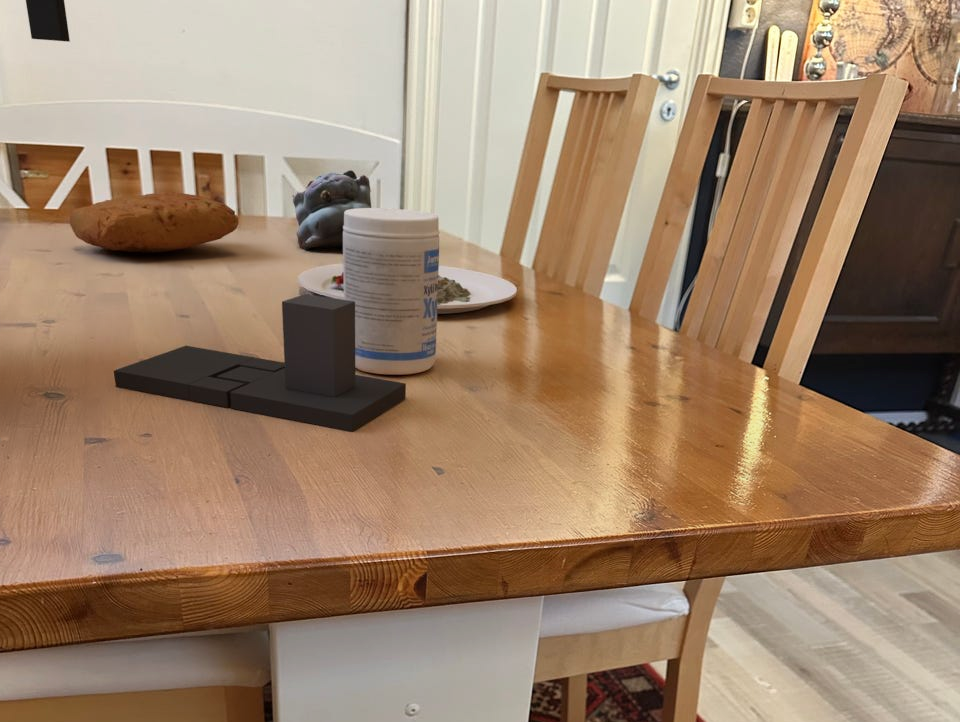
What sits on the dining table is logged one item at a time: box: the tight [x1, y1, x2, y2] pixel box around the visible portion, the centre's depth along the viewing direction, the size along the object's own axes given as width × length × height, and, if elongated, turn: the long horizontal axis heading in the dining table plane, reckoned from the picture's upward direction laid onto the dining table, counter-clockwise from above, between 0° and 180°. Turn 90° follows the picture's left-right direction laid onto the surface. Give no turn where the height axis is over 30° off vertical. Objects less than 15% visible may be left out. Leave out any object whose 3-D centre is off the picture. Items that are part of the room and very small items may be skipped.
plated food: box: [297, 262, 518, 315], centre depth 128 cm, size 30×30×3 cm
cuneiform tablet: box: [69, 192, 239, 254], centre depth 143 cm, size 22×17×8 cm
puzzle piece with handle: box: [217, 293, 407, 432], centre depth 83 cm, size 16×11×9 cm
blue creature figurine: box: [292, 169, 373, 251], centre depth 157 cm, size 15×12×14 cm
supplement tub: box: [342, 207, 440, 376], centre depth 94 cm, size 10×10×15 cm
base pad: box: [113, 345, 285, 409], centre depth 88 cm, size 12×11×2 cm
